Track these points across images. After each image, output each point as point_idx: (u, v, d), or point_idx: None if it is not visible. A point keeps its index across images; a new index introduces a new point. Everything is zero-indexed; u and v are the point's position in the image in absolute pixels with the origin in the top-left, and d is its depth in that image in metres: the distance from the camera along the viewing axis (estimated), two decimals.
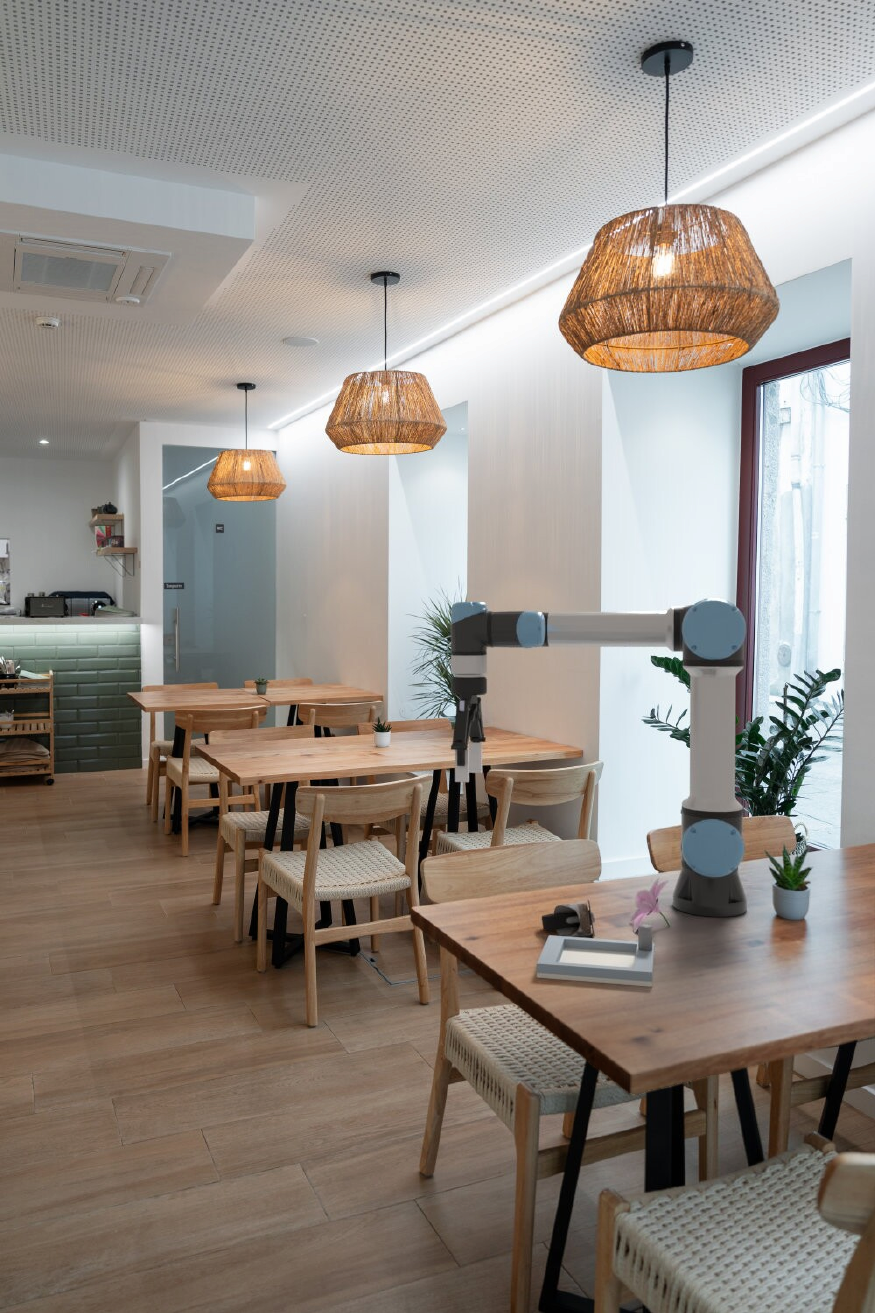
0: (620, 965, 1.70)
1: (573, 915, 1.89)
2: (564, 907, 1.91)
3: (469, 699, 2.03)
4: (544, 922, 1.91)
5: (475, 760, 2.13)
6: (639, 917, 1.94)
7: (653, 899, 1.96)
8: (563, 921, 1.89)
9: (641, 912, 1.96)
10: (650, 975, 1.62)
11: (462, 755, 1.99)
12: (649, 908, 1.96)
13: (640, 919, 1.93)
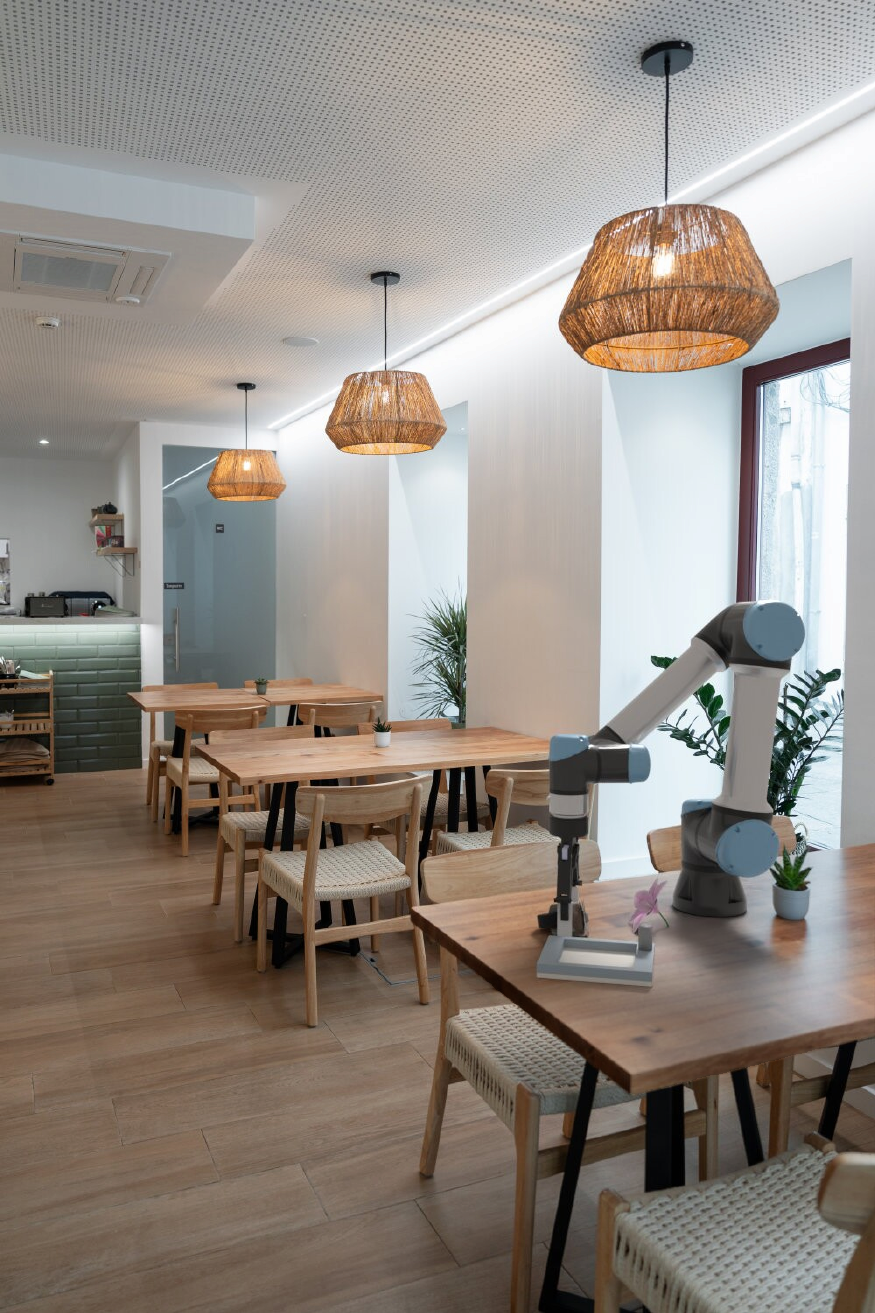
0: (620, 965, 1.70)
1: None
2: None
3: (571, 843, 1.87)
4: (539, 921, 1.92)
5: None
6: (638, 917, 1.94)
7: (652, 899, 1.96)
8: None
9: (640, 912, 1.96)
10: (650, 975, 1.62)
11: (566, 909, 1.84)
12: (648, 909, 1.96)
13: (639, 919, 1.93)
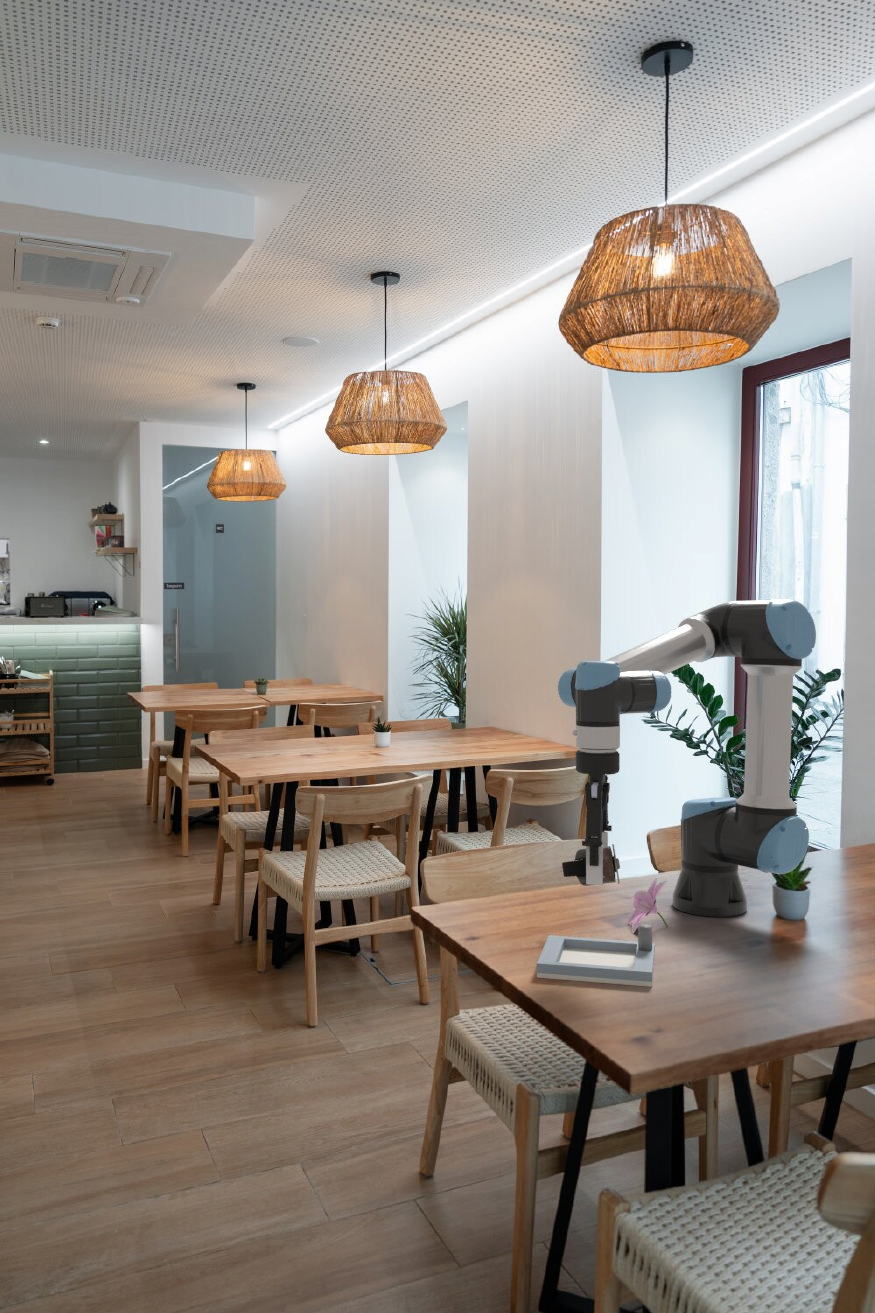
0: (620, 965, 1.70)
1: None
2: None
3: (601, 780, 1.67)
4: (564, 869, 1.72)
5: None
6: (637, 918, 1.94)
7: (651, 900, 1.96)
8: (584, 867, 1.69)
9: (639, 913, 1.96)
10: (650, 975, 1.62)
11: (596, 853, 1.64)
12: (647, 909, 1.96)
13: (638, 920, 1.92)
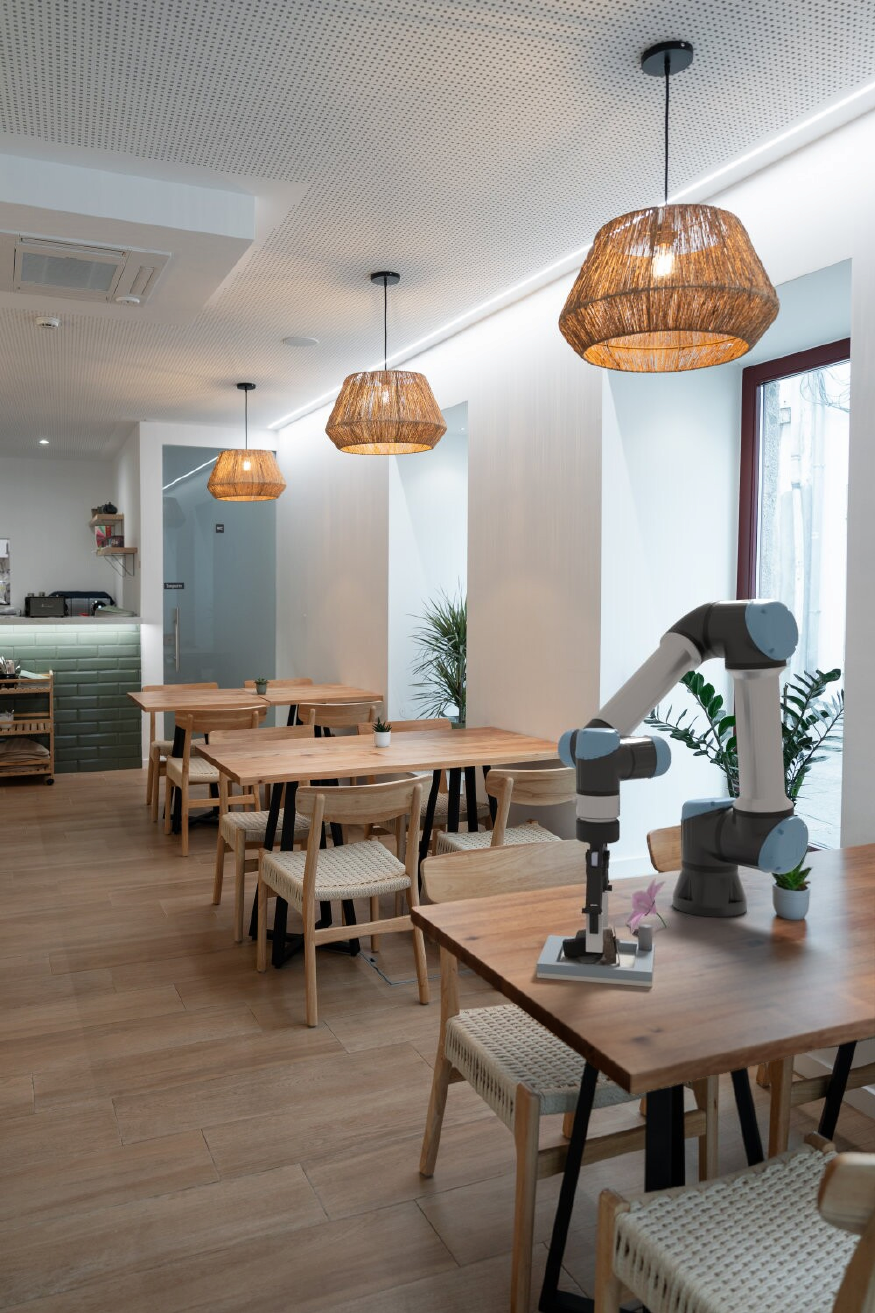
0: (620, 965, 1.70)
1: None
2: None
3: (601, 849, 1.68)
4: (564, 948, 1.73)
5: None
6: (636, 918, 1.93)
7: (650, 900, 1.96)
8: (585, 948, 1.70)
9: (638, 913, 1.96)
10: (650, 975, 1.62)
11: (596, 921, 1.63)
12: (646, 909, 1.95)
13: (637, 920, 1.92)
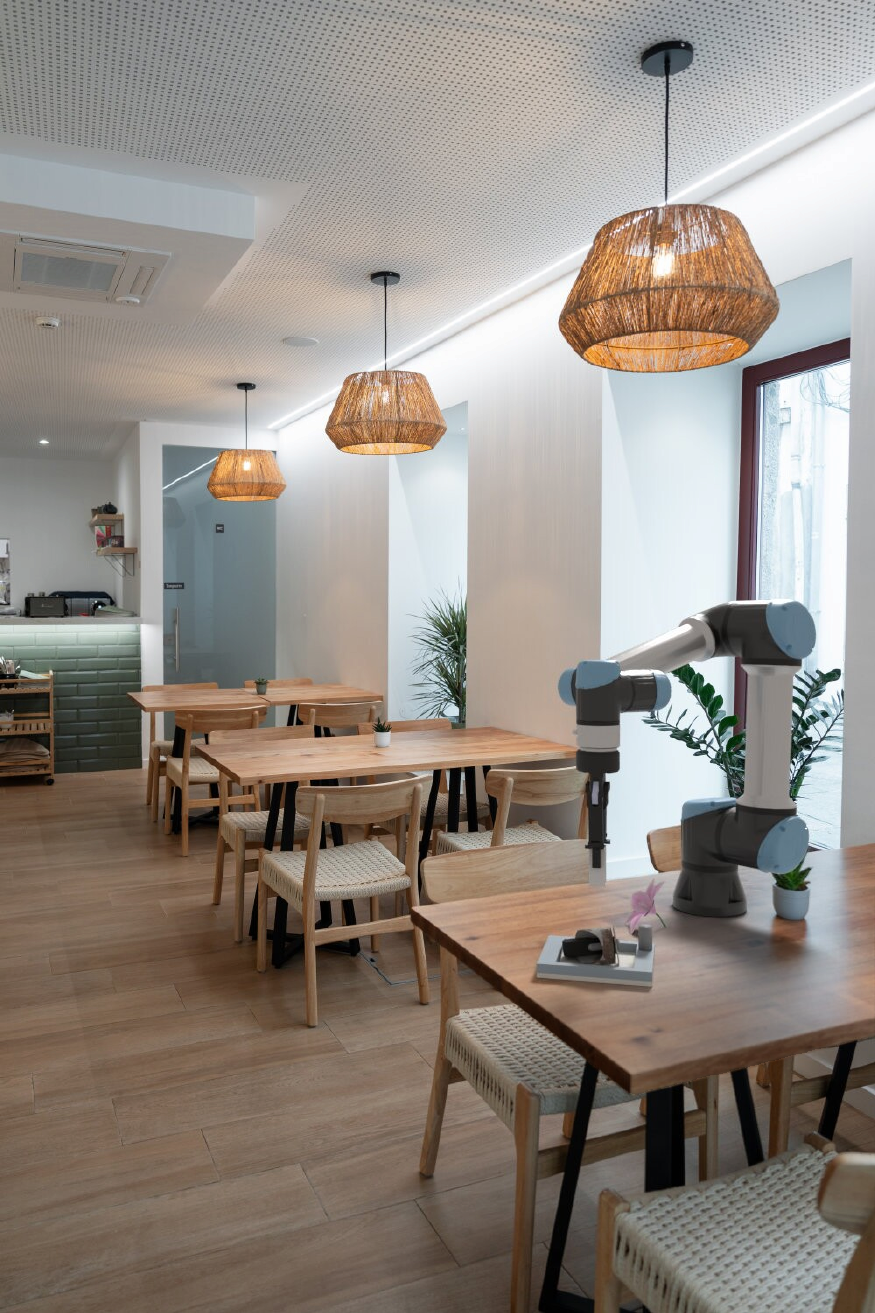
0: (620, 965, 1.70)
1: (596, 941, 1.70)
2: (586, 932, 1.72)
3: (601, 782, 1.67)
4: (564, 948, 1.73)
5: None
6: (635, 918, 1.93)
7: (649, 900, 1.96)
8: (585, 948, 1.70)
9: (637, 913, 1.96)
10: (650, 975, 1.62)
11: (598, 856, 1.68)
12: (645, 909, 1.95)
13: (637, 920, 1.92)
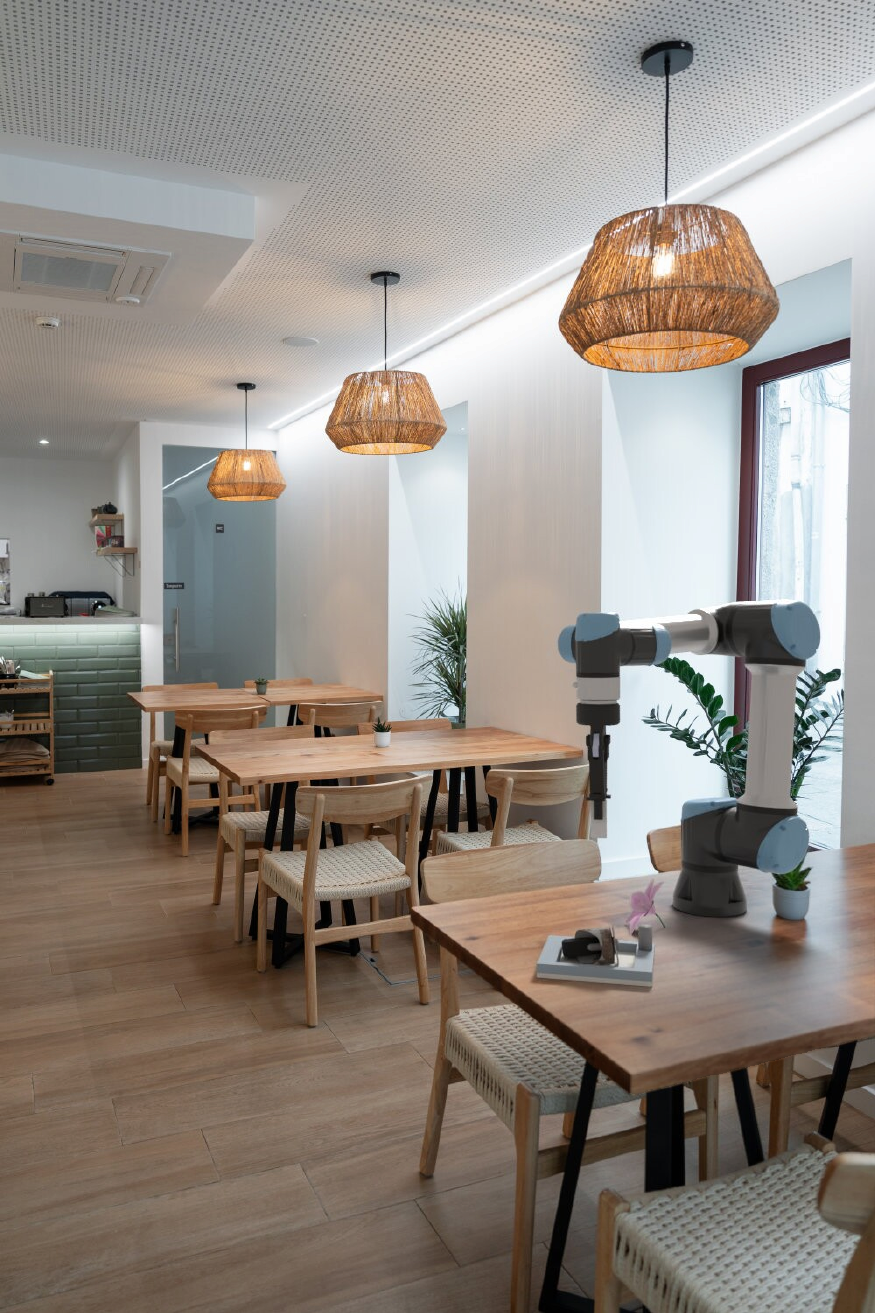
0: (620, 965, 1.70)
1: (595, 941, 1.70)
2: (586, 932, 1.72)
3: (601, 735, 1.67)
4: (563, 948, 1.73)
5: None
6: (635, 919, 1.93)
7: (648, 900, 1.95)
8: (584, 948, 1.70)
9: (636, 913, 1.96)
10: (650, 975, 1.62)
11: (600, 807, 1.69)
12: (645, 910, 1.95)
13: (636, 921, 1.92)
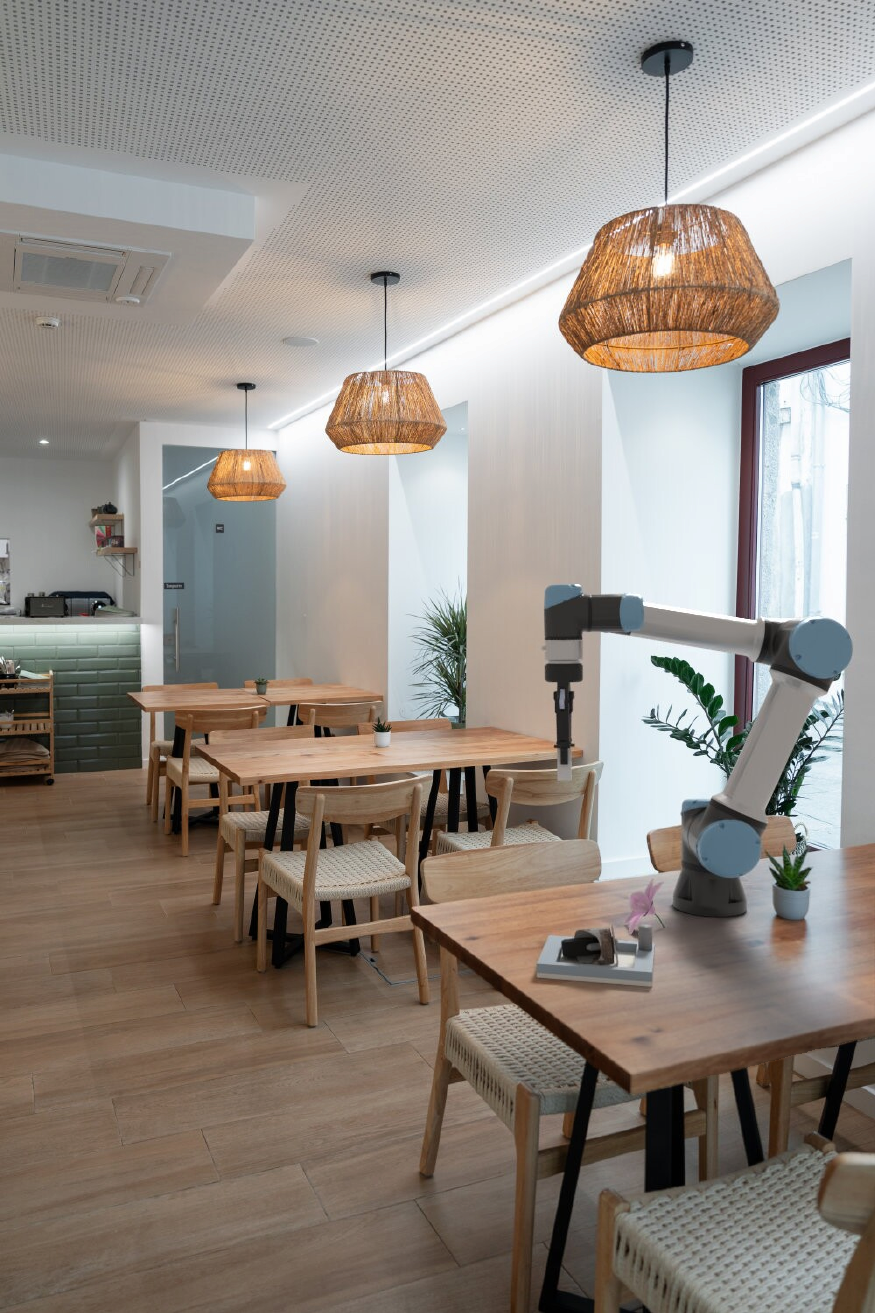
0: (620, 965, 1.70)
1: (595, 941, 1.70)
2: (585, 932, 1.72)
3: (567, 690, 1.92)
4: (563, 948, 1.73)
5: None
6: (634, 919, 1.93)
7: (648, 900, 1.95)
8: (583, 948, 1.70)
9: (636, 914, 1.95)
10: (650, 975, 1.62)
11: (565, 753, 1.95)
12: (644, 910, 1.95)
13: (636, 921, 1.92)
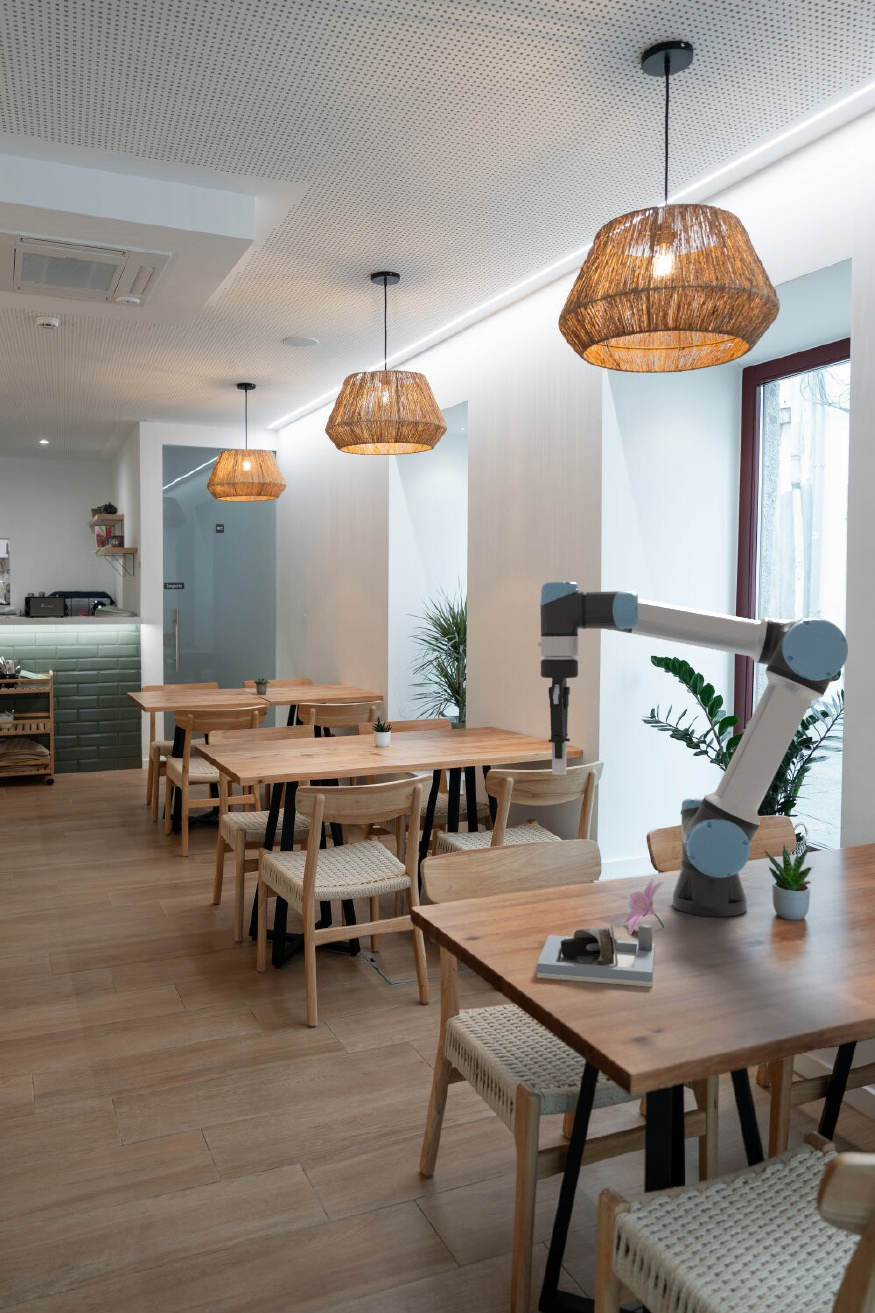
0: (620, 965, 1.70)
1: (594, 941, 1.70)
2: (585, 932, 1.72)
3: (561, 685, 1.96)
4: (562, 948, 1.73)
5: None
6: (634, 919, 1.93)
7: (647, 901, 1.95)
8: (583, 948, 1.70)
9: (635, 914, 1.95)
10: (650, 975, 1.62)
11: (560, 748, 1.99)
12: (644, 910, 1.95)
13: (635, 921, 1.91)
